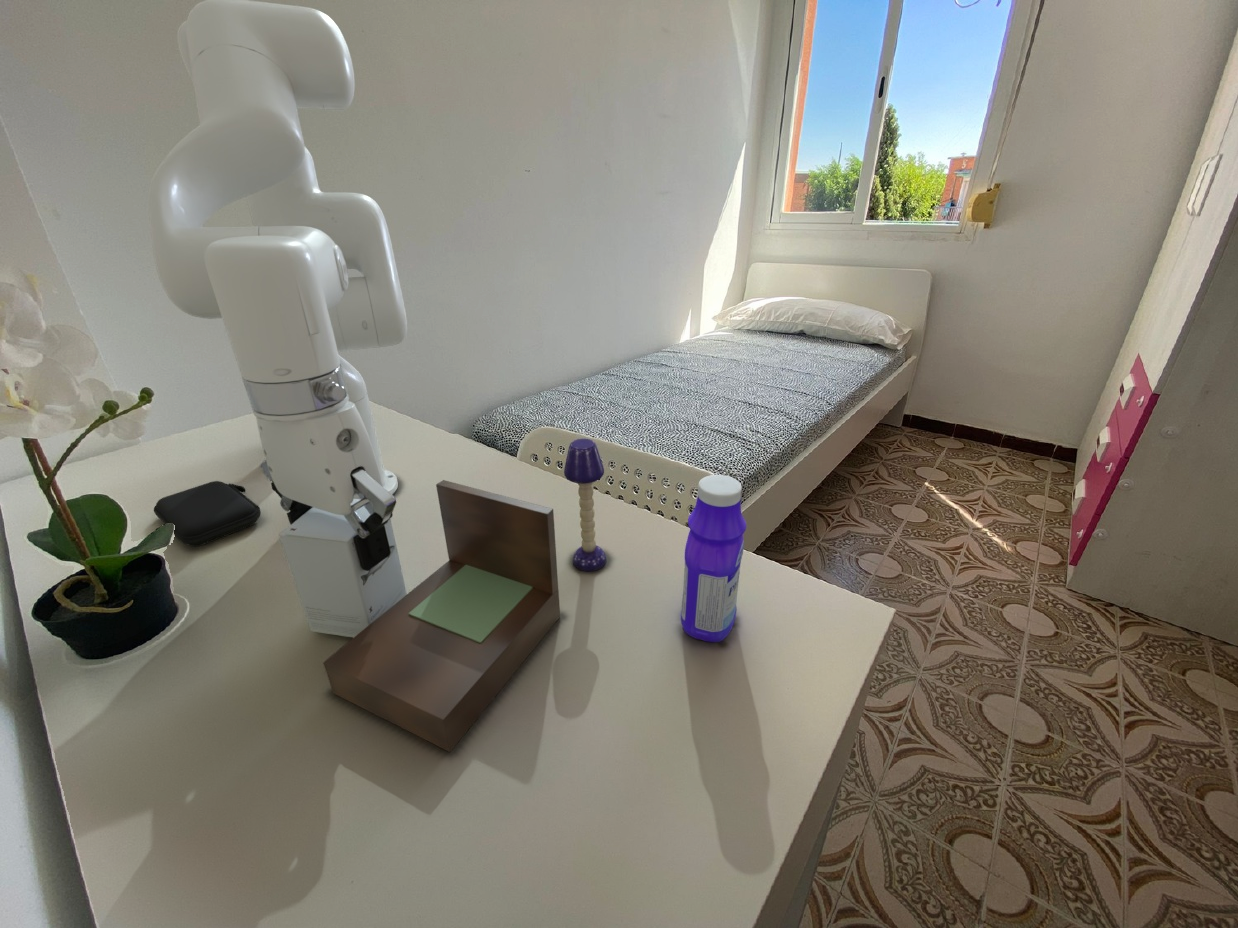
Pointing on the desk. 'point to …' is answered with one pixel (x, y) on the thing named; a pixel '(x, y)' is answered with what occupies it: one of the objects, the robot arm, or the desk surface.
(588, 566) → the toy lamp
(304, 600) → the white packaging box
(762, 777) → the desk surface
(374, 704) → the wooden display stand
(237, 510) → the carrying case
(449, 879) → the desk surface
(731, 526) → the bottle
